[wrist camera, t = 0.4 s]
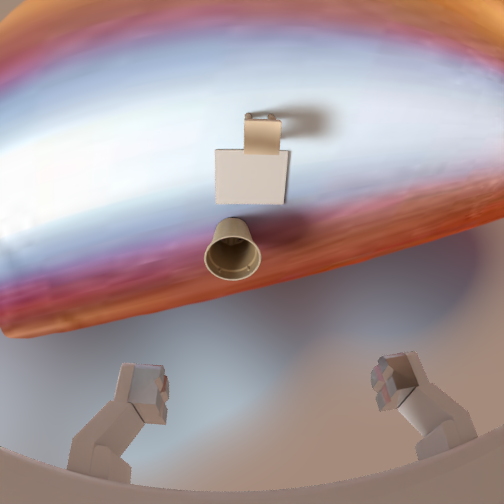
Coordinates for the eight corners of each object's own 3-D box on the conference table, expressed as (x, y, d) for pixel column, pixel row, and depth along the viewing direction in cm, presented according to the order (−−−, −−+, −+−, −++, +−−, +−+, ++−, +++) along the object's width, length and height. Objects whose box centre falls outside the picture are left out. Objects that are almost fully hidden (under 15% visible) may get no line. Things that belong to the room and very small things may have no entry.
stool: (243, 111, 46) (245, 120, 40) (275, 112, 46) (281, 121, 40) (242, 140, 49) (244, 154, 43) (273, 141, 49) (279, 155, 43)
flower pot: (266, 221, 58) (271, 249, 51) (243, 258, 63) (244, 287, 56) (221, 201, 55) (219, 226, 48) (199, 240, 60) (195, 269, 53)
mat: (215, 149, 49) (214, 150, 49) (287, 150, 50) (288, 151, 50) (215, 203, 55) (215, 204, 55) (283, 203, 56) (283, 204, 56)
